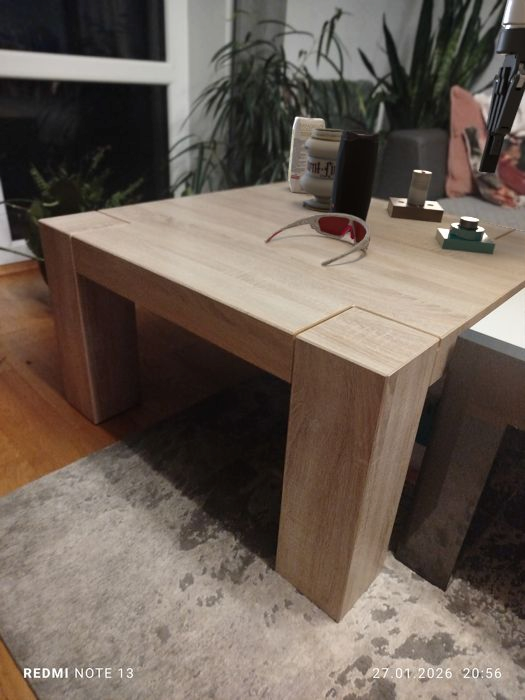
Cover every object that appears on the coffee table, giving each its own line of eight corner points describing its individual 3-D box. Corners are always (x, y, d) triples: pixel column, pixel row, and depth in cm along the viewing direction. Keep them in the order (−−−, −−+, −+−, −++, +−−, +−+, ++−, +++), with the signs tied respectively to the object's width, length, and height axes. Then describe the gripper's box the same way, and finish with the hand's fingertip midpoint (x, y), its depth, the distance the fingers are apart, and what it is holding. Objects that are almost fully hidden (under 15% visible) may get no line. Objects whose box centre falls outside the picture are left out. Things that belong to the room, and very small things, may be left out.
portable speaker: (329, 230, 107) (343, 131, 98) (325, 219, 115) (337, 127, 106) (369, 233, 107) (386, 135, 98) (362, 222, 116) (377, 130, 106)
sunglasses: (387, 251, 96) (389, 226, 93) (326, 282, 87) (326, 256, 84) (321, 229, 107) (321, 205, 104) (261, 254, 98) (259, 230, 95)
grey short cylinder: (474, 227, 104) (476, 217, 103) (478, 232, 101) (481, 222, 100) (456, 225, 104) (459, 215, 103) (460, 230, 101) (462, 220, 100)
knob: (405, 200, 126) (412, 168, 123) (423, 202, 126) (430, 169, 122) (407, 204, 122) (414, 170, 119) (426, 206, 122) (433, 172, 118)
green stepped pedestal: (482, 243, 107) (487, 224, 105) (492, 254, 100) (498, 234, 98) (434, 238, 108) (439, 219, 106) (441, 249, 101) (446, 229, 99)
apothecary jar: (289, 202, 129) (296, 126, 120) (327, 200, 134) (337, 127, 125) (314, 214, 119) (325, 132, 111) (355, 211, 125) (367, 133, 116)
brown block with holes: (433, 213, 130) (436, 201, 128) (441, 223, 121) (444, 209, 119) (387, 208, 131) (389, 196, 129) (390, 217, 122) (393, 204, 120)
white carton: (318, 194, 140) (328, 120, 131) (288, 192, 139) (295, 117, 130) (315, 189, 146) (323, 118, 137) (286, 187, 146) (292, 115, 137)
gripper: (561, 26, 80) (517, 179, 92) (533, 33, 92) (496, 168, 103) (513, 24, 81) (475, 176, 92) (491, 30, 92) (459, 165, 104)
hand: (486, 171), depth 98 cm, fingers closed
